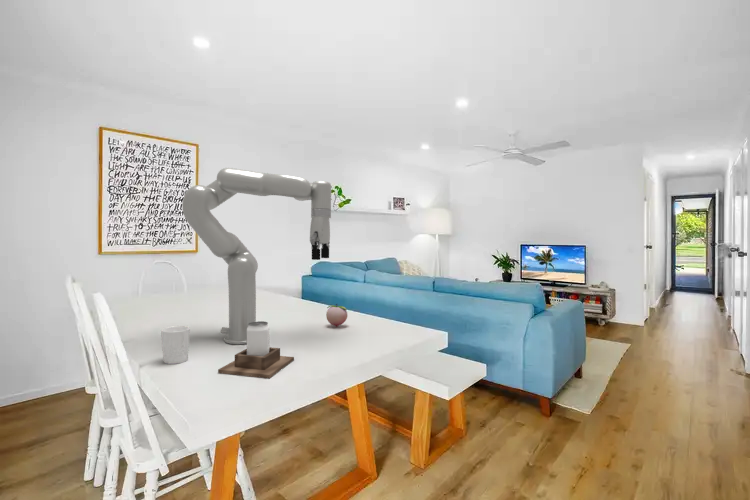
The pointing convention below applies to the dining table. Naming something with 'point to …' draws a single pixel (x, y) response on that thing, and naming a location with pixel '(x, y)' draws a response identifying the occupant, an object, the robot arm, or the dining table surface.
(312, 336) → the dining table surface
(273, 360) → the box
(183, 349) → the white cup
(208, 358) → the dining table surface
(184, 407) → the dining table surface
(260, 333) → the can
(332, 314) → the decorative fruit
